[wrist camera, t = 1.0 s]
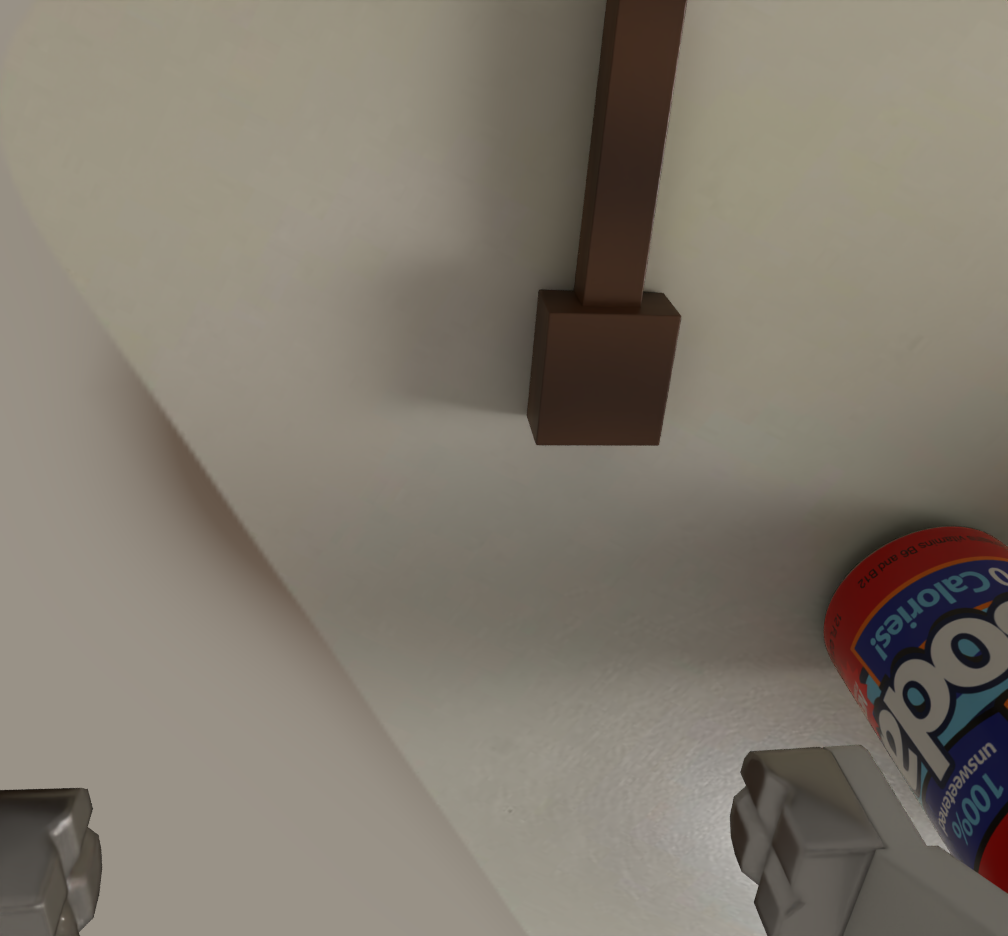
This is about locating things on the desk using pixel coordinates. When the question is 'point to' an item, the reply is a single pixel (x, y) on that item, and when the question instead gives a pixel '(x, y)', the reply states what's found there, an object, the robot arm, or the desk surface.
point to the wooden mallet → (615, 253)
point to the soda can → (936, 678)
